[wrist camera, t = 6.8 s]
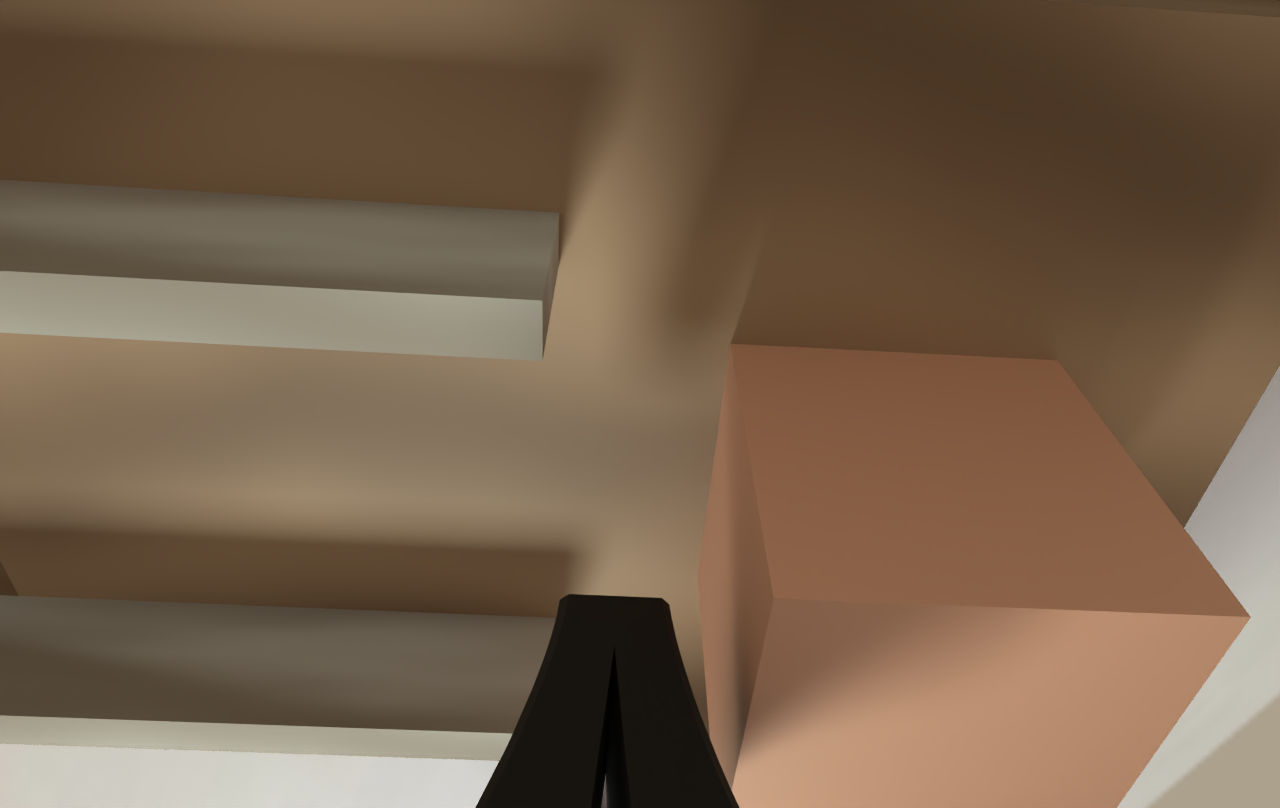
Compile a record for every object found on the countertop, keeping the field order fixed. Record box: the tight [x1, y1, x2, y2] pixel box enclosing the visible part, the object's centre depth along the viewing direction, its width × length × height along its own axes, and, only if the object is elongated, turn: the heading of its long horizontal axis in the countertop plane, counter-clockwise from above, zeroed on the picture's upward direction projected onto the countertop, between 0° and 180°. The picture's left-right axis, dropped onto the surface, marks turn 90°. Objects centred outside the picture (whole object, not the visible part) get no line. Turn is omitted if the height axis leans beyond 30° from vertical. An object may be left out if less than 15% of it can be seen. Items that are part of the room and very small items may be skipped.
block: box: [697, 344, 1250, 808], centre depth 12 cm, size 5×5×5 cm
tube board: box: [0, 0, 1280, 761], centre depth 14 cm, size 15×30×4 cm, turn 86°
